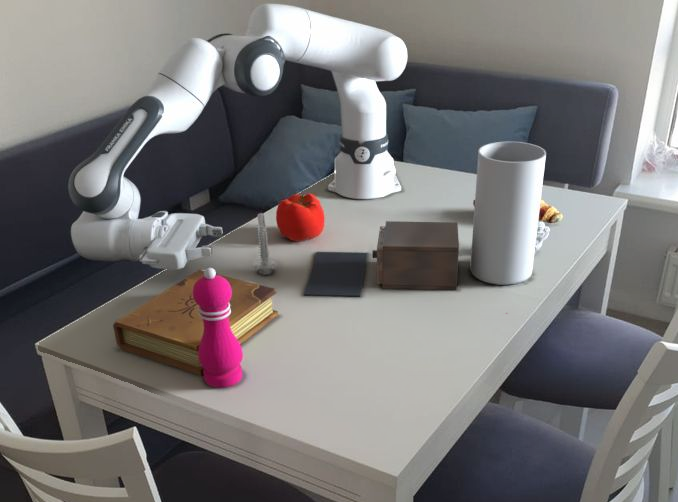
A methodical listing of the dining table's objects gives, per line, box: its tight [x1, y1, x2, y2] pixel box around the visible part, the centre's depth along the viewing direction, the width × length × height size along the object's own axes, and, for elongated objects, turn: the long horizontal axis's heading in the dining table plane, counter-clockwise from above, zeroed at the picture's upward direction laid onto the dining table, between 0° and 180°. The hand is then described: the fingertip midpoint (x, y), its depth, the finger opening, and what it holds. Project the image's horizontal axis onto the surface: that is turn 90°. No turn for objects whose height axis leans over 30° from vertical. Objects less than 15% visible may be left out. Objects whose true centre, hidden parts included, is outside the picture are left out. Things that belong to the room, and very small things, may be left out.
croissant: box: [472, 198, 564, 224], centre depth 186 cm, size 21×10×8 cm, turn 68°
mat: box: [304, 251, 368, 298], centre depth 165 cm, size 20×11×1 cm, turn 175°
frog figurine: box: [534, 221, 551, 253], centre depth 170 cm, size 6×7×7 cm
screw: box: [252, 212, 278, 276], centre depth 162 cm, size 13×5×5 cm
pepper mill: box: [193, 267, 244, 389], centre depth 127 cm, size 7×7×20 cm
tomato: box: [275, 192, 326, 242], centre depth 179 cm, size 11×12×9 cm
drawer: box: [371, 225, 386, 284], centre depth 161 cm, size 15×11×7 cm
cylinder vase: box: [469, 141, 547, 286], centre depth 157 cm, size 12×12×25 cm
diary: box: [112, 269, 279, 376], centre depth 144 cm, size 23×19×6 cm
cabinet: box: [382, 220, 460, 291], centre depth 161 cm, size 15×13×9 cm
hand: (216, 241), depth 163 cm, fingers open, 8 cm apart
